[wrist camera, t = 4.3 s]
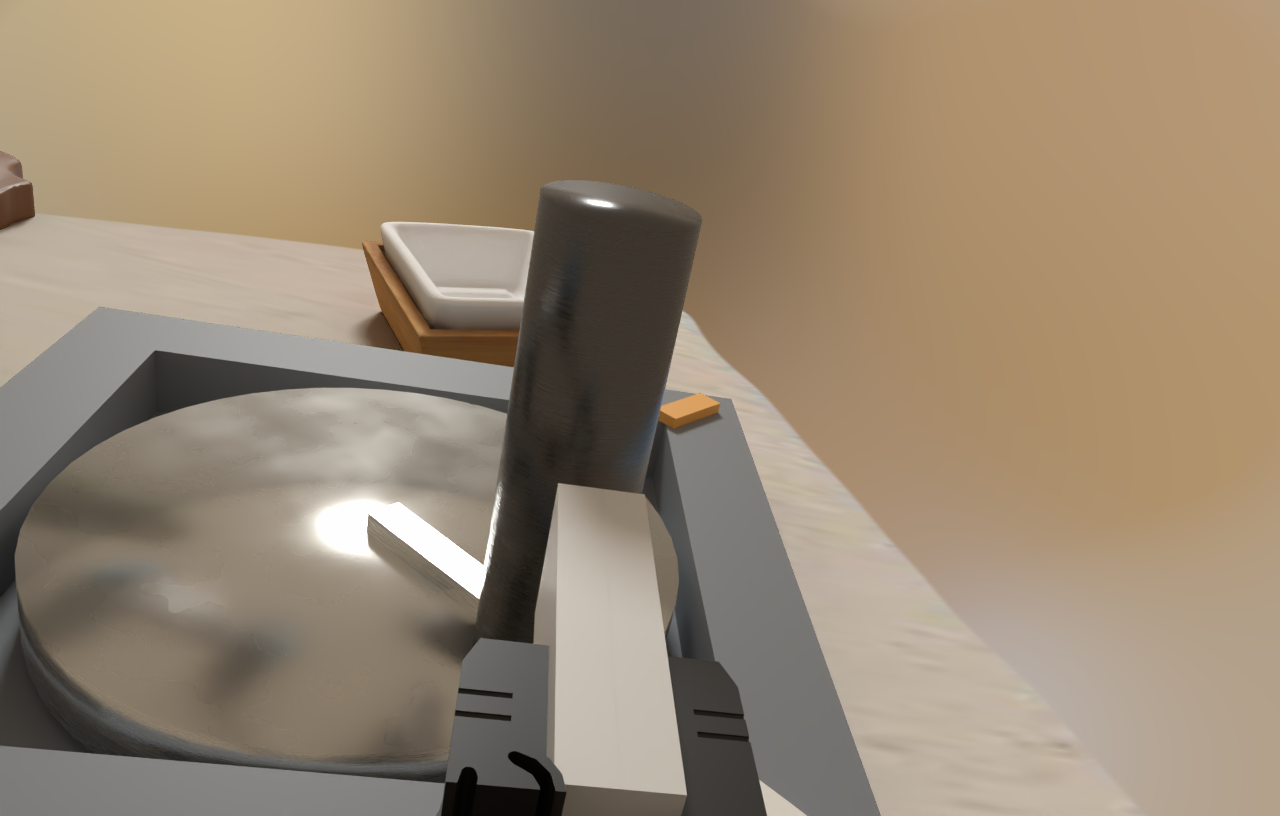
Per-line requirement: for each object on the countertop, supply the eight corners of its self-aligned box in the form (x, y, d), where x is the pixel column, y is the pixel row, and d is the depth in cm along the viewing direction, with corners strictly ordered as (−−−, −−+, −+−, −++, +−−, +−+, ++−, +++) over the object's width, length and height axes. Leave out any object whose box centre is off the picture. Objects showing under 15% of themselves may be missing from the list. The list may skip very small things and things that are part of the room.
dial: (-87, 530, 27) (-157, 17, 21) (424, 401, 39) (462, 58, 34) (254, 986, 17) (283, 291, 12) (777, 627, 30) (906, 207, 25)
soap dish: (617, 408, 47) (637, 308, 45) (410, 414, 43) (421, 304, 40) (531, 309, 57) (544, 223, 55) (356, 305, 52) (363, 211, 50)
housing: (-496, 1018, 17) (-578, 834, 15) (102, 401, 38) (98, 296, 36) (869, 1080, 20) (936, 936, 18) (710, 482, 42) (733, 390, 40)
